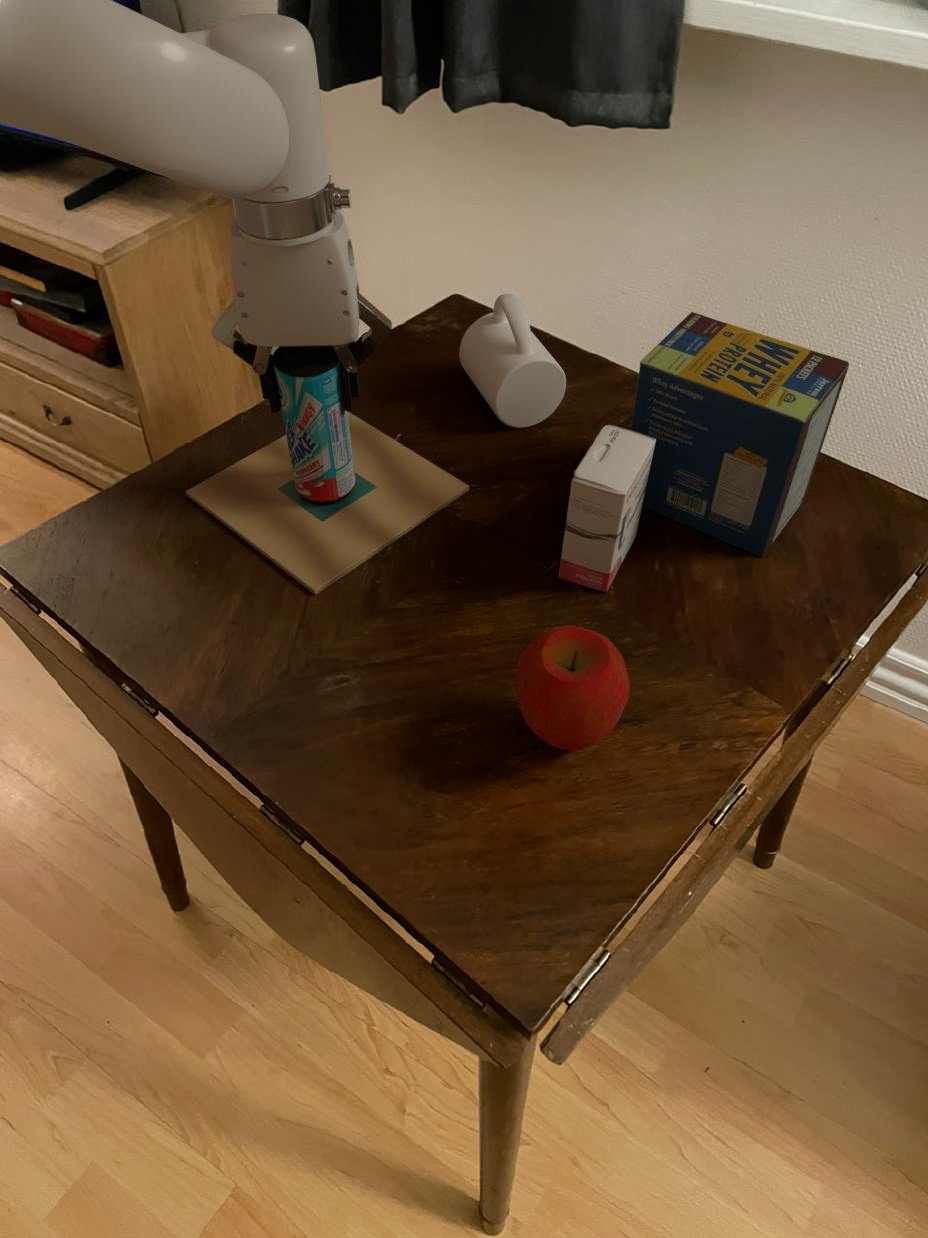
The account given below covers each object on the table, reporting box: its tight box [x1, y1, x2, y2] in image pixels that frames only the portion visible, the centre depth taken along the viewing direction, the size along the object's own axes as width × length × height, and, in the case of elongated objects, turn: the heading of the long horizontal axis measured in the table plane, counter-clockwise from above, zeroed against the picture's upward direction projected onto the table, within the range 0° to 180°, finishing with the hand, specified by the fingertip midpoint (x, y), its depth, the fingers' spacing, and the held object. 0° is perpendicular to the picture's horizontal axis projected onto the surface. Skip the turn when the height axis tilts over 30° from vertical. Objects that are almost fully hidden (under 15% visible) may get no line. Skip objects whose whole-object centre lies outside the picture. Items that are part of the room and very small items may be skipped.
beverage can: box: [272, 346, 355, 504], centre depth 87 cm, size 6×6×15 cm
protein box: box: [630, 311, 850, 558], centre depth 86 cm, size 10×15×16 cm
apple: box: [513, 624, 631, 752], centre depth 69 cm, size 9×8×11 cm
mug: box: [458, 293, 567, 429], centre depth 99 cm, size 8×10×12 cm
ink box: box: [558, 424, 656, 593], centre depth 82 cm, size 9×5×12 cm, turn 155°
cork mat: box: [185, 411, 470, 595], centre depth 93 cm, size 20×20×1 cm
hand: (313, 401), depth 85 cm, fingers closed on beverage can, 5 cm apart
